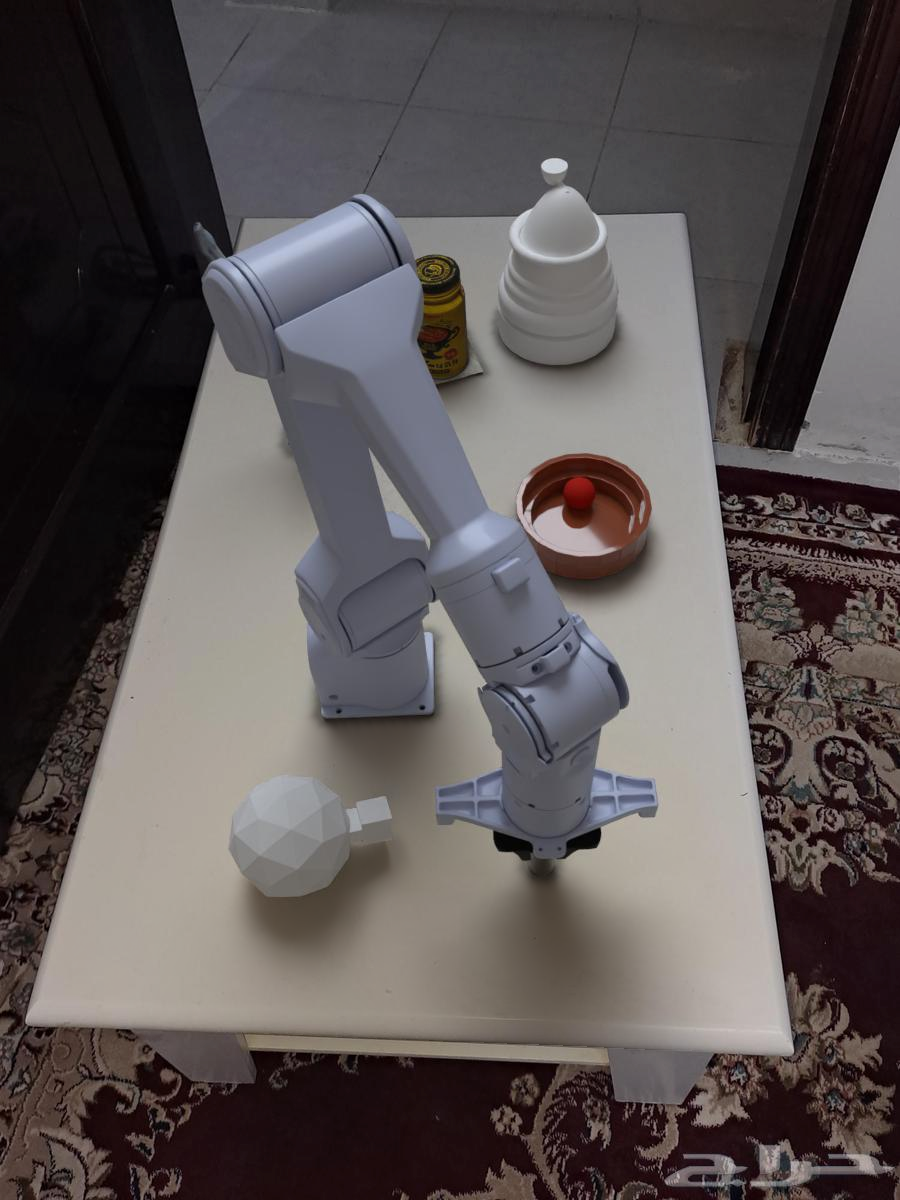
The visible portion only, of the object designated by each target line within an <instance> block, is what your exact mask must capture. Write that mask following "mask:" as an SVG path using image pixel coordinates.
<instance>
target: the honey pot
mask: <svg viewBox="0 0 900 1200" xmlns="http://www.w3.org/2000/svg"><path fill="white" fill-rule="evenodd" d="M568 167H569V164H568V162H567V161H566V160H564V159H562V158H557V157H555V158H554V157H552V158H548V159H546V160H543V162H541V165H540V169H541V170H540V171H541V176H542V177H543V179H544V181H545V183H546V184H548V185H550V186H553V187H552V188H551V189H549V190H547V191H546V192H545V193H544V194H543V195H542V196H541V197H540V198H539V200H537V202H536V204H535V205H534V206H533V207H532V208H530V209H527V210H525V211H524V212H523V213H521V214H519V215H518V216H517V218H516V219H515V220H514V221H513V222H512V223H511V225H510V228H509V231H508V240H509V241H508V242H509V245H510V246H511V249H510V251H509V254H508V257H507V262H506V265H505V266H504V270H503V272H502V274H501V276H500V278H499V282H498V286H497V297H498V299H497V302H498V303H497V306H498V307H497V309H498V310H497V311H498V313H497V315H498V316H497V319H498V333H499V336H500V338H501V340H502V343H503V344H505V346H506V347H507V348H508V349H509V350H510V351H511V352H512V353H513V354H516V355H517V356H518V357H520V358H522V359H524V360H527V361H529V362H533V363H535V364H540V365H548V366H567V365H572V364H576V363H581V362H584V361H587V360H589V359H590V358H594V357H595V356H597V355H599V353H601V352H602V351H603V350H605V348H607V347H608V345H609V344H610V342H611V341H612V340H613V337H614V334H615V329H616V321H617V313H618V312H617V311H618V301H619V292H620V291H619V283H618V278H617V275H616V274H615V272H614V266H613V262H612V257H611V253H610V251H609V249H608V248H607V242H608V238H609V234H608V228H607V226H606V224H605V222H604V221H603V219H602V218H601V217H600V216H599V215H598V214H597V213H595V212H594V211H592V209H591V207H590V205H589V204H588V202H587V201H586V199H585V198H584V196H583V195H582V194H581V193H580V192H579V191H577V189H575V188H574V187H571V186H569V185H566V184H565V183H564V182H563V181H564V179H565V178H566V176H567V173H568Z"/></svg>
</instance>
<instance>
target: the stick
mask: <svg viewBox="0 0 900 1200" xmlns="http://www.w3.org/2000/svg"><path fill="white" fill-rule="evenodd" d="M530 846H531V860H528V861H527V865H528V868H529V870H530V871H531V872H532V873H533V874H535V875H537V876H547V875H549V874H550V873H551V872H552V871H553V870H554V867H555V863H556V858H550V859H540V858H537V857H536V856H535V855H534V852H533V845H532V844H531V843H530Z"/></svg>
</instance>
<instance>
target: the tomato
mask: <svg viewBox="0 0 900 1200" xmlns="http://www.w3.org/2000/svg"><path fill="white" fill-rule="evenodd" d="M563 496H564V499H565V501H566V503H567V504H568V505H569V506H570V507H572V508H575V509H583V508H586V507H588V506H589V505H590V504H591V503H592V502H593V500H594V498H595V488H594V485H593V484H592V482H591V481H589V480H588V479H586V478H583V477H576V478H573V479H571V480H570V481H568V482H567V484H566V485H565V487H564V491H563Z"/></svg>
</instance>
